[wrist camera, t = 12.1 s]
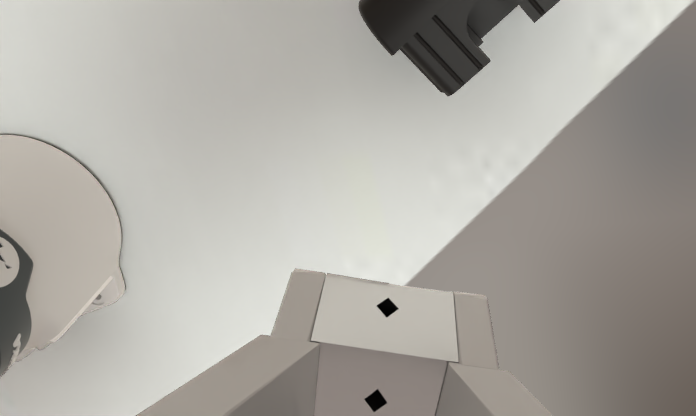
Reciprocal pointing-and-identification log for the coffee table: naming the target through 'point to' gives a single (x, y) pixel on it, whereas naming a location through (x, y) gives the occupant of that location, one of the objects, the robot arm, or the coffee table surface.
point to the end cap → (442, 33)
